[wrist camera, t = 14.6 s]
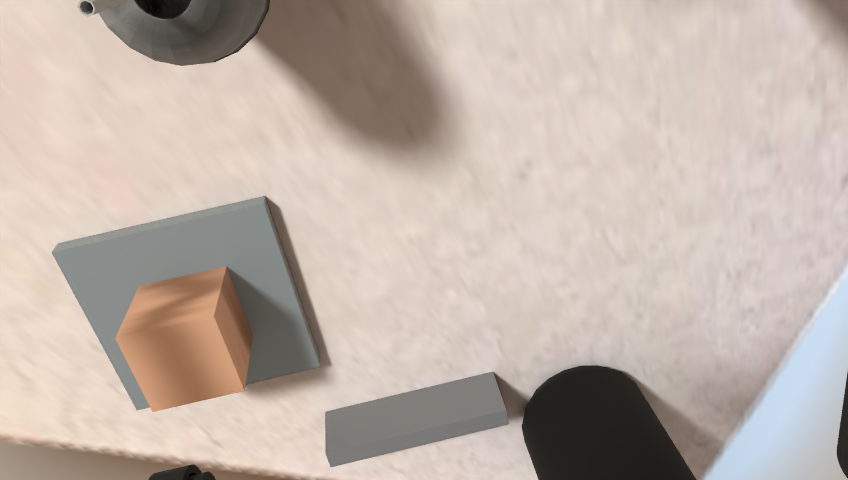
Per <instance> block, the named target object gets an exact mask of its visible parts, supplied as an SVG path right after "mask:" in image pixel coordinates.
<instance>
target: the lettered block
mask: <svg viewBox="0 0 848 480" xmlns="http://www.w3.org/2000/svg"><path fill="white" fill-rule="evenodd" d="M115 339H116V341H117V343H118V345H119V347H120V349H121V351H122V353H123V355H124V357H125V359H126V361H127V363H128V365H129V367H130V369H131V371H132V373H133V375H134V377H135V378H136V380H137V382H138V384H139V386H140V388H141V390H142V392H143V394H144V396H145V398H146V400H147V402H148V404H149V406H150V408H151V410H152V412H154V411H159V410H163V409H167V408H172V407H176V406H180V405H185V404H189V403H194V402H198V401H202V400H207V399H211V398H215V397H220V396H224V395H228V394H233V393H237V392H241V391H245V385H246V378H247V371H248V365H249V358H250V352H251V345H252V339H253V334H252V332H251V329H250V327H249V324H248V321H247V319H246V316H245V313H244V311H243V308H242V306H241V303H240V300H239V298H238V295H237V293H236V290H235V287H234V285H233V282H232V280H231V277H230V274H229V272H228V269H227V267H226V266H225V267H220V268H216V269H211V270H207V271H203V272H198V273H194V274H189V275H185V276H180V277H176V278H171V279H167V280H162V281H158V282H153V283H149V284H145V285H140V286H139V287H138V289H137V291H136V294H135V296H134V298H133V300H132V302H131V305H130V307H129V309H128V311H127V313H126V316H125V318H124V320H123V322H122V324H121V327H120V329H119V331H118V333H117V336H116V338H115Z"/></svg>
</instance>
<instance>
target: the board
mask: <svg viewBox="0 0 848 480" xmlns="http://www.w3.org/2000/svg"><path fill="white" fill-rule="evenodd" d="M52 254H53V256H54V258H55V260H56V261H57V263H58V265H59V267H60V269H61V271H62V273H63V274H64V276H65V278H66V280H67V282H68V284H69V285H70V287H71V289H72V291H73V293H74V295H75V297H76V298H77V300H78V302H79V304H80V306H81V308H82V309H83V311H84V313H85V315H86V317H87V319H88V321H89V322H90V324H91V326H92V328H93V330H94V332H95V334H96V335H97V337H98V339H99V341H100V343H101V345H102V346H103V348H104V350H105V352H106V354H107V356H108V358H109V359H110V361H111V363H112V365H113V367H114V369H115V371H116V372H117V374H118V376H119V378H120V380H121V382H122V383H123V385H124V387H125V389H126V391H127V393H128V395H129V396H130V398H131V400H132V402H133V404H134V406H135V407H136V409H137V410H140V409H145V408H149V407H150V406H149V404H148V402H147V400H146V398H145V396H144V394H143V392H142V390H141V388H140V386H139V384H138V382H137V380H136V378H135V377H134V375H133V373H132V371H131V369H130V367H129V365H128V363H127V361H126V359H125V357H124V355H123V353H122V351H121V349H120V347H119V345H118V343H117V341H116V339H115V338H116V336H117V333H118V331H119V329H120V327H121V324H122V322H123V320H124V318H125V316H126V313H127V311H128V309H129V307H130V305H131V302H132V300H133V298H134V296H135V294H136V291H137V289H138V287H139V286H140V285H145V284H149V283H153V282H158V281H162V280H167V279H171V278H176V277H180V276H185V275H189V274H194V273H198V272H203V271H207V270H211V269H216V268H220V267H225V266H226V267H227V269H228V272H229V274H230V277H231V280H232V282H233V285H234V287H235V290H236V293H237V295H238V298H239V300H240V303H241V306H242V308H243V311H244V313H245V316H246V319H247V321H248V324H249V327H250V329H251V332H252V334H253V339H252V345H251V352H250V358H249V365H248V371H247V378H246V384H250V383H254V382H258V381H262V380H267V379H271V378H275V377H279V376H283V375H288V374H292V373H296V372H300V371H304V370H309V369H313V368H317V367H320V356H319V354H318V351H317V348H316V345H315V342H314V339H313V336H312V333H311V330H310V327H309V324H308V321H307V318H306V315H305V312H304V309H303V307H302V304H301V301H300V298H299V295H298V292H297V289H296V286H295V283H294V280H293V277H292V274H291V271H290V268H289V265H288V262H287V260H286V257H285V254H284V251H283V248H282V245H281V242H280V239H279V236H278V233H277V230H276V227H275V224H274V221H273V218H272V216H271V213H270V210H269V207H268V204H267V201H266V198H265V196H263V197H259V198H254V199H250V200H246V201H241V202H237V203H233V204H228V205H224V206H220V207H215V208H211V209H207V210H202V211H198V212H194V213H189V214H185V215H181V216H176V217H172V218H167V219H163V220H159V221H154V222H150V223H146V224H141V225H137V226H133V227H128V228H124V229H120V230H115V231H111V232H107V233H102V234H98V235H94V236H89V237H85V238H81V239H76V240H72V241H68V242H63V243H59V244H57V246H56V247H55V249H54V250H53V251H52Z"/></svg>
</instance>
